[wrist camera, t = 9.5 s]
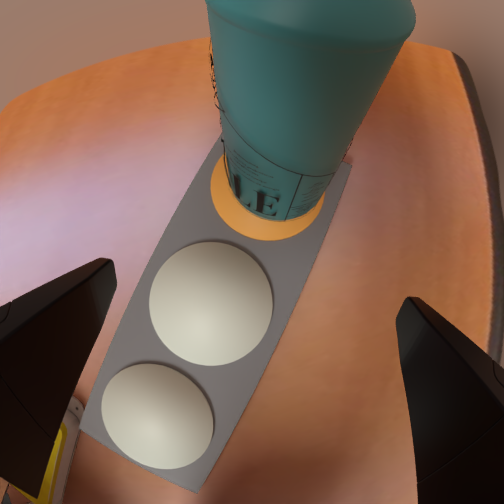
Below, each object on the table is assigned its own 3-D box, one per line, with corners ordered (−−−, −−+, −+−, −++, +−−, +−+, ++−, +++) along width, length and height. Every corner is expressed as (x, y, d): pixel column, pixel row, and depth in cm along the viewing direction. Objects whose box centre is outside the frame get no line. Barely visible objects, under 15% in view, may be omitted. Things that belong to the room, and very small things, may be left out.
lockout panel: (348, 171, 23) (353, 163, 22) (199, 487, 18) (196, 495, 16) (233, 122, 24) (232, 113, 22) (84, 424, 18) (76, 429, 17)
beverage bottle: (329, 161, 21) (444, -104, 2) (308, 246, 20) (525, -66, 1) (243, 137, 22) (240, -148, 2) (213, 218, 20) (114, -136, 1)
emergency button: (62, 418, 15) (41, 531, 12) (91, 404, 19) (61, 512, 16) (-19, 346, 16) (-30, 468, 13) (13, 344, 20) (-5, 458, 17)
